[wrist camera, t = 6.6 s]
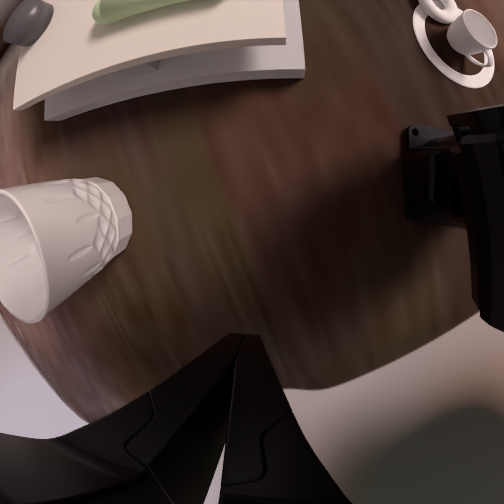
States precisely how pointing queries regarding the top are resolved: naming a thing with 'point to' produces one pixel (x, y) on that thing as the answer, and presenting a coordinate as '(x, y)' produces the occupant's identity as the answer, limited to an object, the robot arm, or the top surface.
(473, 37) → the teacup and saucer
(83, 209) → the white cup
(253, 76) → the instrument base
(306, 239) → the top surface
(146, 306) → the top surface
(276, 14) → the instrument plate
